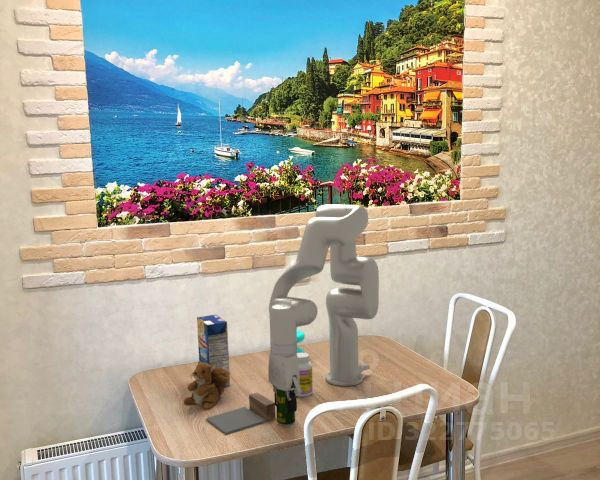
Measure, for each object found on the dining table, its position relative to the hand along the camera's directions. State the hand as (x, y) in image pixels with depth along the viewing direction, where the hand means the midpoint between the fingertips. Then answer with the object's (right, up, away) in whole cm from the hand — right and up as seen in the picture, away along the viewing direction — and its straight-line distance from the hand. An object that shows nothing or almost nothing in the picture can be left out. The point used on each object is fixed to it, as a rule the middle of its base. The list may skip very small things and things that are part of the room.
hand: (285, 408), depth 183 cm
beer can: (0, -5, +1) cm, 5 cm away
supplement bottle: (+5, -1, +22) cm, 22 cm away
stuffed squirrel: (-25, -3, +18) cm, 31 cm away
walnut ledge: (-7, -3, +8) cm, 11 cm away
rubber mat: (-15, -4, +3) cm, 16 cm away
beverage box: (-25, 0, +33) cm, 41 cm away
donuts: (+1, +4, +55) cm, 55 cm away
